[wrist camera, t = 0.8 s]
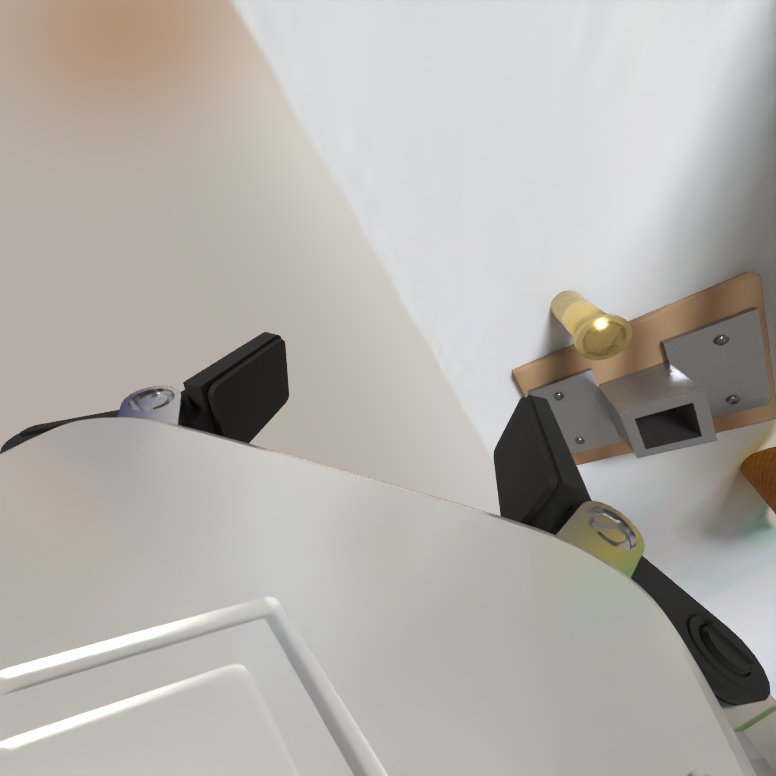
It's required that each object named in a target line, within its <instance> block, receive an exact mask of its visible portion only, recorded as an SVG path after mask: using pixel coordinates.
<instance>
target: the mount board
mask: <svg viewBox="0 0 776 776" xmlns="http://www.w3.org/2000/svg"><path fill="white" fill-rule="evenodd" d="M751 307H755V308H758V309H759V317H760V324H761V332H762V339H763V347H764V354H765V361H766V369H767V376H768V384H769V391H770V399H771V404H769V405H765V406H761V407H757V408H753V409H749V410H745V411H741V412H737V413H733V414H729V415H725V416H721V417H717V418H713V419H712V421H713V425H714V429H715V433H717V432H722V431H726V430H730V429H735V428H739V427H743V426H747V425H752V424H756V423H760V422H765V421H769V420H773V419H776V399H775V391H774V383H773V375H772V367H771V359H770V351H769V343H768V335H767V327H766V320H765V312H764V304H763V296H762V288H761V280H760V274H756V273H752V272H747V273H744V274H742V275H739V276H737V277H735V278H732V279H730V280H727V281H725V282H723V283H720V284H718V285H715V286H713V287H711V288H708V289H706V290H703V291H701V292H699V293H696V294H694V295H691V296H689V297H686V298H684V299H682V300H679V301H677V302H674V303H672V304H670V305H667V306H665V307H662V308H660V309H658V310H655V311H653V312H650V313H648V314H646V315H643V316H641V317H638V318H636V319H633V320H631V321H629V322H628V323H629V324H630V325H631V328H632V338H631V340H630V342H629V344H628V345H627V347H626V348H625V349H624V350H623V351H622V352H620V353H619V354H617V355H615V356H613V357H611V358H608V359H605V360H590V359H587V358H585V357H583V356H582V355H581V354H580V353H579V352H578V351H577V349H576V348H575V345H574V344H573V345H571V346H568V347H566V348H564V349H561V350H559V351H556V352H554V353H552V354H549V355H547V356H544V357H542V358H540V359H537V360H535V361H532V362H530V363H527V364H525V365H523V366H520V367H518V368H515V369H513V370H512V371H513V375H514V376H515V378H516V380H517V382H518V384H519V386H520V388H521V390H522V392H523V393H524V395H525V397H527V396H528V395H530V393H529V390H530V389H533V388H536V387H538V386H541V385H544V384H546V383H549V382H552V381H555V380H557V379H560V378H563V377H565V376H568V375H571V374H573V373H576V372H579V371H581V370H584V369H587V368H591V369H592V371H593V374H594V376H595V378H596V381H597V383H598V384H601V383H604V382H607V381H610V380H613V379H616V378H619V377H621V376H624V375H627V374H630V373H633V372H636V371H639V370H642V369H645V368H648V367H651V366H654V365H657V364H659V363H662V362H665V361H666V359H665V355H664V352H663V349H662V345H661V342H660V341H662V340H665V339H668V338H670V337H673V336H676V335H678V334H681V333H684V332H686V331H689V330H692V329H694V328H697V327H700V326H703V325H705V324H708V323H711V322H713V321H716V320H719V319H721V318H724V317H727V316H729V315H732V314H735V313H738V312H740V311H743V310H746V309H748V308H751ZM615 428H616V427H615ZM616 430H617V429H616ZM617 433H618V435H619V438H620V440H621V442H618V443H614V444H610V445H606V446H602V447H598V448H594V449H590V450H586V451H582V452H578V453H574V454H571V455H572V457H573V459H574V462H575V464H576V465H580V464H584V463H588V462H593V461H597V460H601V459H606V458H610V457H614V456H618V455H623V454H627V453H631V452H632V450H631V449H630V447H629V446H628V445H627V443H626V442H625V440H624V439H623V437H622V436H621V435H620V433H619V432H618V430H617Z"/></svg>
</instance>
